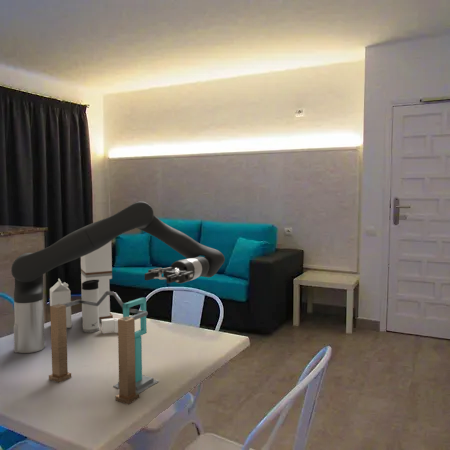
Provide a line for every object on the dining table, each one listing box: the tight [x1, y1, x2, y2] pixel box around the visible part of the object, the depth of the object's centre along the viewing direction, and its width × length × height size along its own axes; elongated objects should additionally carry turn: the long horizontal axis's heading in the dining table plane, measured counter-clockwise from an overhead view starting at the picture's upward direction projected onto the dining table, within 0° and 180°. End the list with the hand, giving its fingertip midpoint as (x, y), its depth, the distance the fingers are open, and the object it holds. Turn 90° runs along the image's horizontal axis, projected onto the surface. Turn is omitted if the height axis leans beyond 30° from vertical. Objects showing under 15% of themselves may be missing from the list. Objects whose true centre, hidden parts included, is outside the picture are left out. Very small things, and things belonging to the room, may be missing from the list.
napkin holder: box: [101, 317, 120, 334], centre depth 175 cm, size 15×11×6 cm
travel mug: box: [81, 280, 100, 333], centre depth 175 cm, size 6×7×20 cm
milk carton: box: [49, 278, 73, 329], centre depth 180 cm, size 7×7×19 cm
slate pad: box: [112, 379, 160, 394], centre depth 127 cm, size 9×9×1 cm
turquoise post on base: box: [117, 296, 155, 391], centre depth 126 cm, size 8×7×24 cm
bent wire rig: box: [48, 290, 149, 405], centre depth 126 cm, size 30×11×26 cm, turn 60°
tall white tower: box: [80, 241, 114, 323], centre depth 190 cm, size 11×11×35 cm
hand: (156, 278), depth 137 cm, fingers open, 8 cm apart
